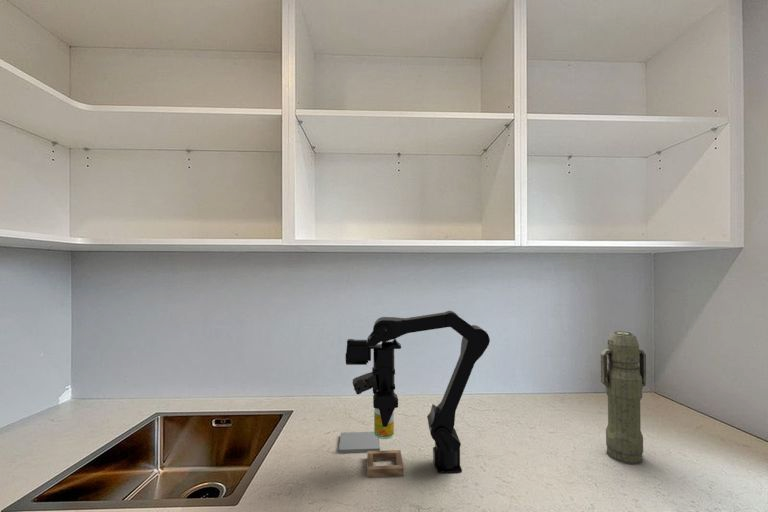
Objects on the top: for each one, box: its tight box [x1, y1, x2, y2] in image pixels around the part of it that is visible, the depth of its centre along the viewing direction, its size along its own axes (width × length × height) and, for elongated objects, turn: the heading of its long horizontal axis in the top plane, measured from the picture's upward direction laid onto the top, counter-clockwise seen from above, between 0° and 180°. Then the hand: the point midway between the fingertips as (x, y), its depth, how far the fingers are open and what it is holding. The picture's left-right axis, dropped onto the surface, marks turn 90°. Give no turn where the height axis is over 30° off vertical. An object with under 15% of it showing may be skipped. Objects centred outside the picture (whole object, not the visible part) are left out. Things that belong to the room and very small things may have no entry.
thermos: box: [600, 330, 647, 466], centre depth 108 cm, size 9×12×35 cm
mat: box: [338, 431, 381, 454], centre depth 117 cm, size 12×11×1 cm
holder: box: [366, 449, 405, 478], centre depth 104 cm, size 9×9×2 cm
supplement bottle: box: [373, 408, 395, 440], centre depth 104 cm, size 5×5×10 cm
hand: (384, 421), depth 104 cm, fingers closed on supplement bottle, 5 cm apart
